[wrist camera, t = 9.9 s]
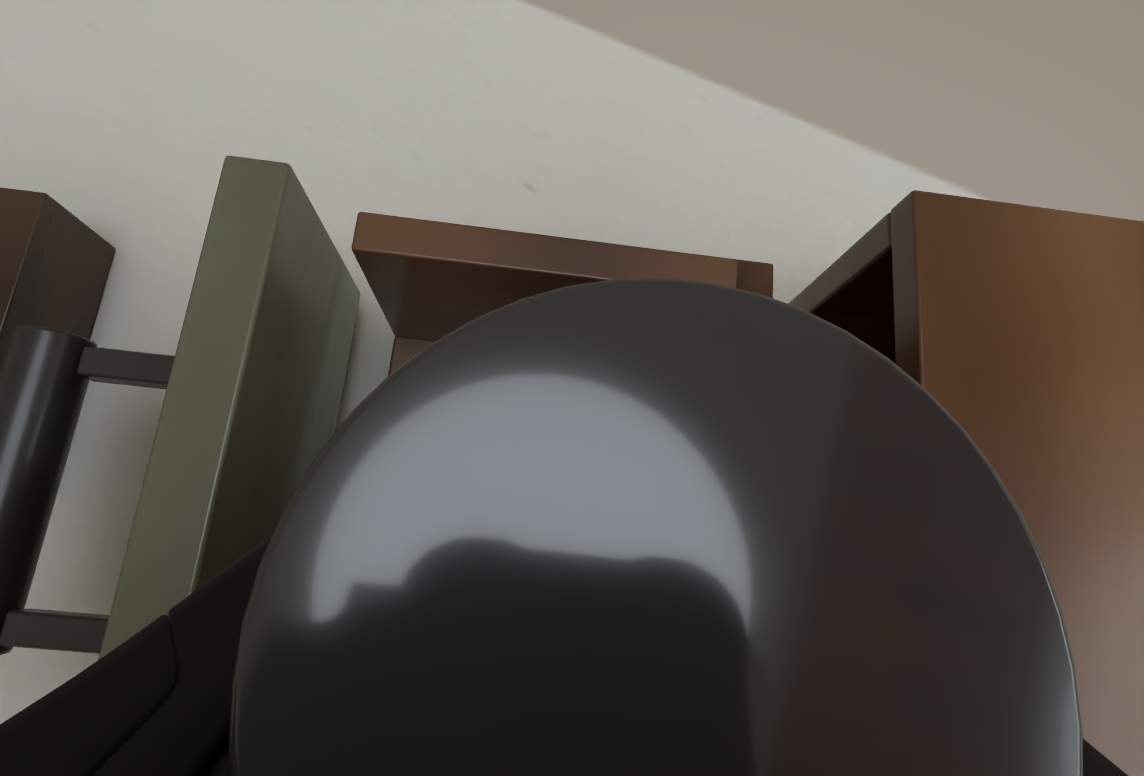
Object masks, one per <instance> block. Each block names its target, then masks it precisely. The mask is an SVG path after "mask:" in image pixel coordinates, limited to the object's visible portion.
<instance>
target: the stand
mask: <svg viewBox="0 0 1144 776" xmlns="http://www.w3.org/2000/svg"><path fill="white" fill-rule="evenodd" d="M114 250H115V248H114V247H113V246H112V245H110V244H109V243H108V242H107V241H105V240H104V239H103V238H102V237H100V236H99V235H98V234H97V233H95V232H94V231H93V230H92V229H90V228H89V227H88V226H86V225H85V224H84V223H83V222H81V221H80V220H79V219H78V218H76V217H75V216H74V215H73V214H71V213H70V212H69V211H68V210H66V209H65V208H64V207H63V206H61V205H60V204H59V203H58V202H56V201H55V200H54V199H53V198H51V197H50V196H49V195H48V194H46V193H40V192H32V191H24V190H16V189H8V188H0V368H1V365H2V362H3V359H4V356H5V352H6V349H7V346H8V343H9V340H10V337H11V334H12V331H13V329H14V328H15V327H17V326H26V325H29V326H41V327H47V328H53V329H57V330H62V331H66V332H69V333H73V334H76V335H79V336H82V337H84V338H87V339H89V337H90V333H91V330H92V326H93V323H94V319H95V316H96V312H97V309H98V305H99V302H100V299H101V295H102V292H103V288H104V285H105V281H106V278H107V274H108V271H109V267H110V264H111V260H112V257H113V253H114Z"/></svg>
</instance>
